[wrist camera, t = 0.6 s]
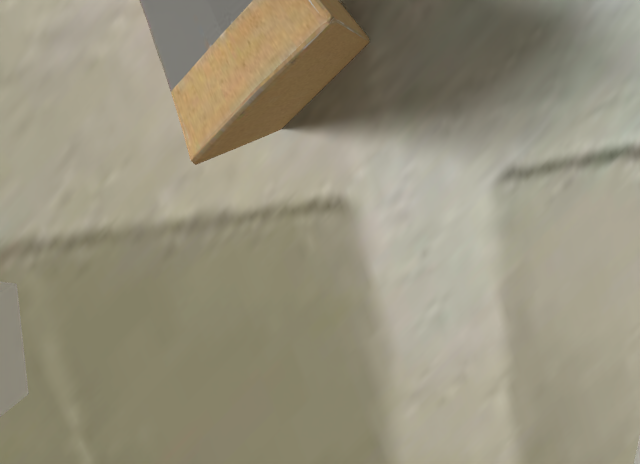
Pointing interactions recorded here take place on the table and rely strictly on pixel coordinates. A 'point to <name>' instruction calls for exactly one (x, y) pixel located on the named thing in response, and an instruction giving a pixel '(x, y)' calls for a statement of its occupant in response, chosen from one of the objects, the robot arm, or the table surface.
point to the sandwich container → (247, 63)
